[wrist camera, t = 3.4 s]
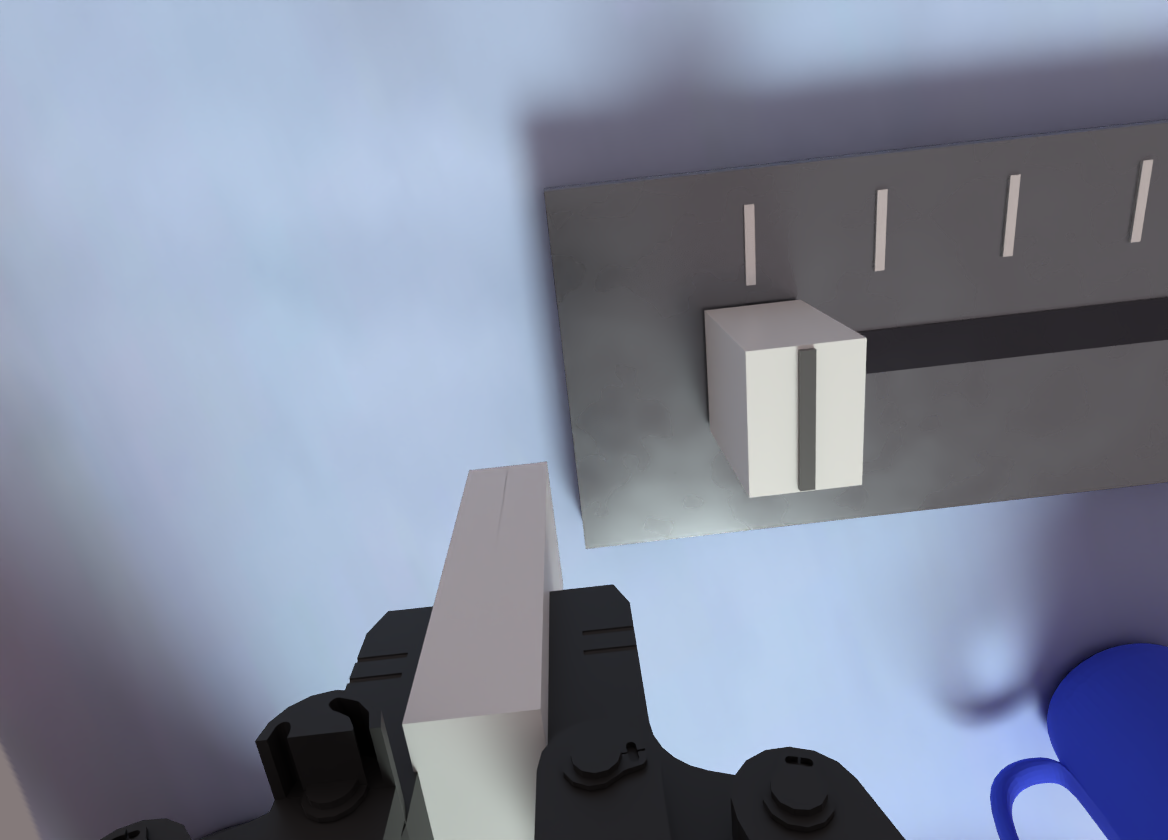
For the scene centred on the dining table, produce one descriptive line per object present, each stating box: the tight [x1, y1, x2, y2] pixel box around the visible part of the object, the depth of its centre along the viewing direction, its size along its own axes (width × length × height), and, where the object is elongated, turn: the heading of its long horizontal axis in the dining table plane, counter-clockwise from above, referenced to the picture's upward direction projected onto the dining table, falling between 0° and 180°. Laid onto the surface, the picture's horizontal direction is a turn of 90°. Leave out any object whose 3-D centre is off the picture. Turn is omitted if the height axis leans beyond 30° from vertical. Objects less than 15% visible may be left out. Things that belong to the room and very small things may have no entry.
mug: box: [990, 643, 1168, 840], centre depth 27 cm, size 8×12×10 cm
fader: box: [704, 300, 867, 498], centre depth 21 cm, size 3×4×5 cm
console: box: [544, 119, 1168, 549], centre depth 24 cm, size 30×12×2 cm, turn 96°
